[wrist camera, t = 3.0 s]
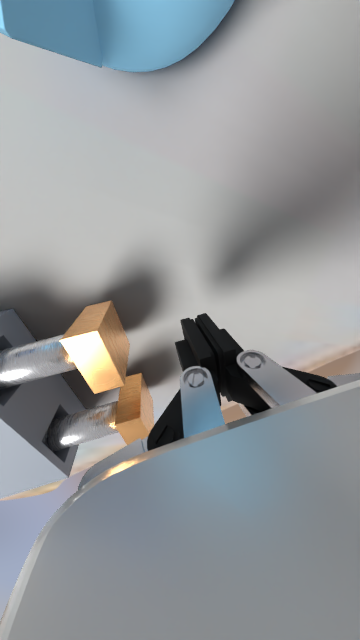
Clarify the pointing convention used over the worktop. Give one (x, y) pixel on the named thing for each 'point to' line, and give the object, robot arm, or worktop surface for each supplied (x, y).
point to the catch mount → (31, 421)
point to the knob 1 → (74, 352)
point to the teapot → (114, 29)
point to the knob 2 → (106, 418)
